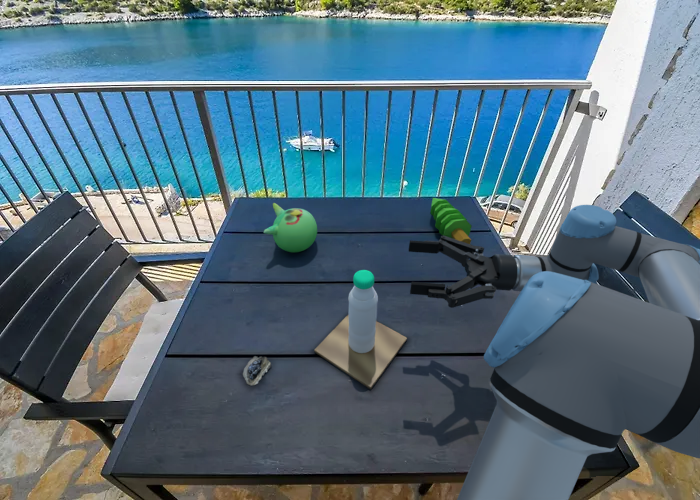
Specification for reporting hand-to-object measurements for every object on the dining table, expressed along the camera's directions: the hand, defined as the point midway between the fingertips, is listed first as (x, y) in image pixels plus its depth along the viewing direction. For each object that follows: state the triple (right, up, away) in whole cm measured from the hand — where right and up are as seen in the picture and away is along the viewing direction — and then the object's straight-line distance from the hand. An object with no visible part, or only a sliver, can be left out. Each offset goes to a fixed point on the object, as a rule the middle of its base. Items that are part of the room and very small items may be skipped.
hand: (409, 265), depth 75 cm
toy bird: (-33, +5, +54) cm, 64 cm away
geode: (-36, -28, +14) cm, 48 cm away
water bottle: (-10, -22, +19) cm, 31 cm away
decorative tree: (+25, +11, +62) cm, 67 cm away
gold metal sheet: (-10, -23, +20) cm, 32 cm away
